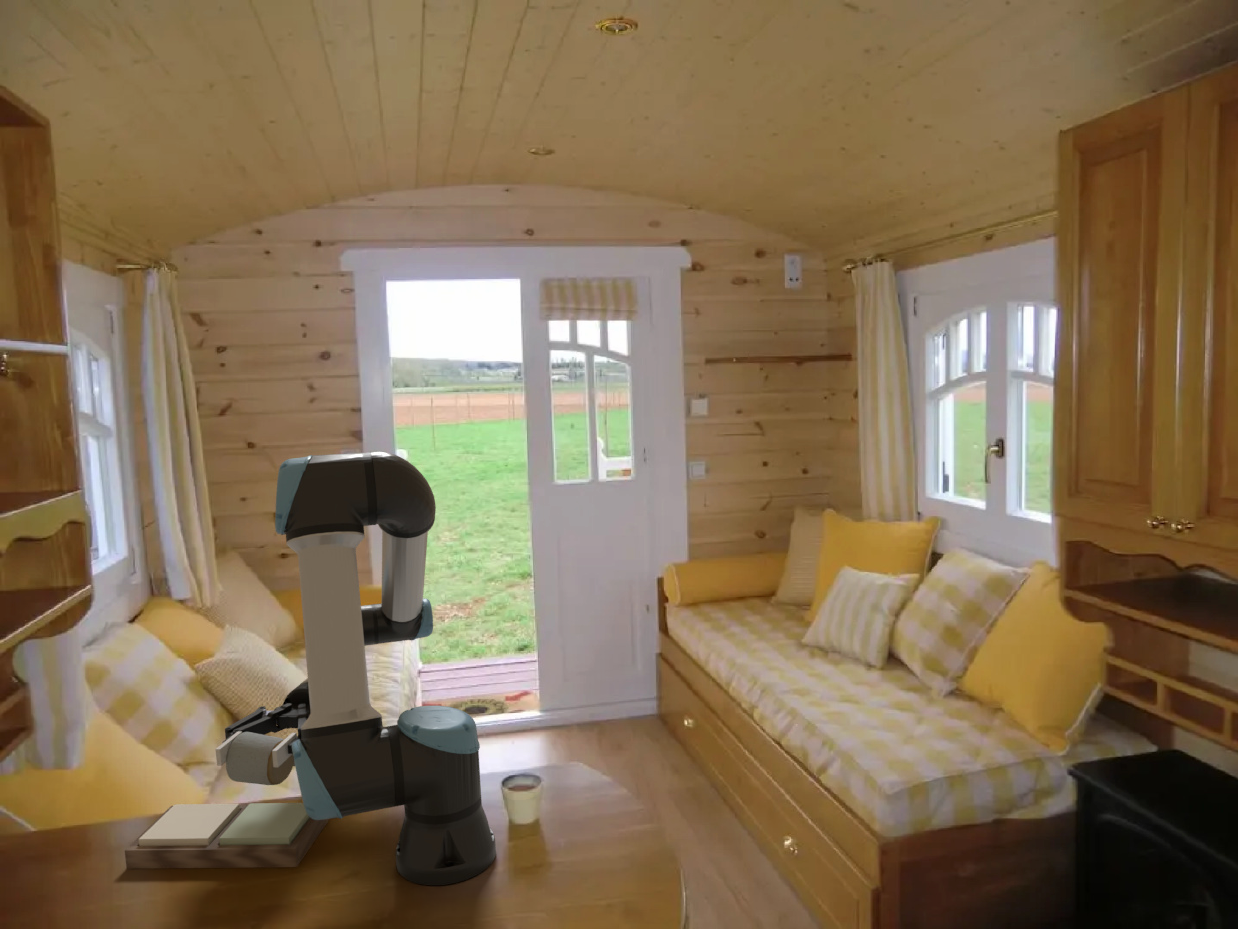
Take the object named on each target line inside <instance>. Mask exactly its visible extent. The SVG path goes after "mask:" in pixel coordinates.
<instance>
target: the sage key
mask: <svg viewBox="0 0 1238 929" xmlns="http://www.w3.org/2000/svg"><path fill="white" fill-rule="evenodd" d="M247 805H248V806H247V807H246V808H245V810H244V811H243V812H242V813H241V814H240V815H239V816H238V817H237V819H236V820H235V821H234V822H233V823H232V824H231V825H230V827H229V828H228V829H227V830H226V831H225V832H224V833H223V834H222V836H221V837H220V838H219V841H220V845H291V843H292V842H293V840H294V839H295V838H296V836H297V835H298V834H299V832H300V831H301V829H302V828H303V827H304V825H305V824H306V823H307V821H308V820H309V819H310V817H309V816H308V815H307V813H306V810H305V807H304V803H303V802H267V803H266V802H265V803H264V802H263V803H262V802H259V803H258V802H257V803H253V802H252V803H251V802H250V803H249V804H247Z"/></svg>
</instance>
